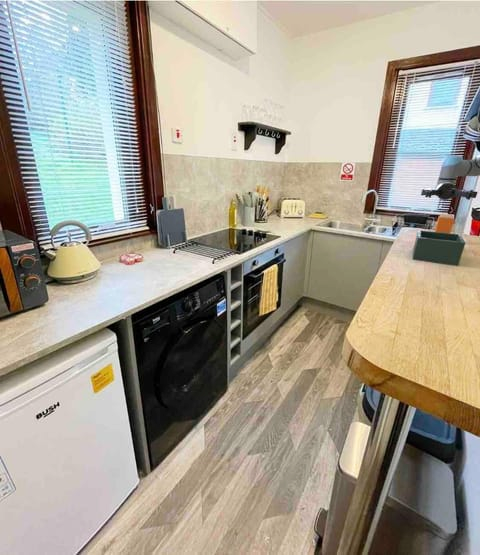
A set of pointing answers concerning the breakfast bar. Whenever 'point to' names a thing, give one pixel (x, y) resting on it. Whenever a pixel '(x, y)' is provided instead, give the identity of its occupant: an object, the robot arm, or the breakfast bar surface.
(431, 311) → the breakfast bar surface
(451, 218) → the block
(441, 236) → the waste bin
